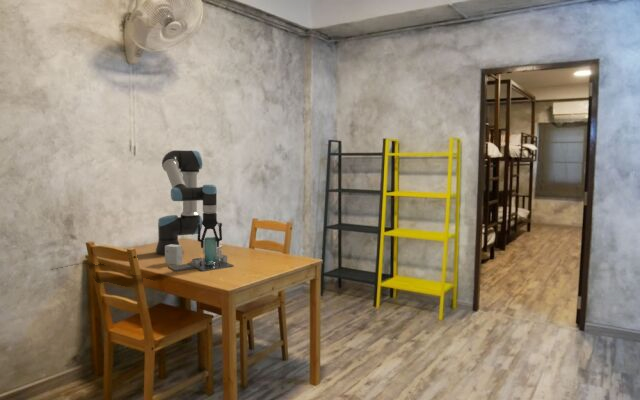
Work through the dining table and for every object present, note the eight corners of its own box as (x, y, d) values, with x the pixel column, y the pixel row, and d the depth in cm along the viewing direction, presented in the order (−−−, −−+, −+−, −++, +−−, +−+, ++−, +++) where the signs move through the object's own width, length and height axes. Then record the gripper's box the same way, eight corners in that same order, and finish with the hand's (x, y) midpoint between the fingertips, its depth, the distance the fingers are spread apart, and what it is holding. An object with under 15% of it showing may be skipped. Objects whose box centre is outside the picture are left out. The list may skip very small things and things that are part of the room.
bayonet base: (186, 264, 257) (186, 256, 257) (217, 260, 270) (217, 252, 270) (201, 271, 243) (201, 262, 243) (233, 266, 256) (233, 258, 255)
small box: (182, 263, 262) (182, 245, 261) (176, 265, 256) (176, 246, 255) (171, 261, 264) (170, 244, 263) (164, 263, 259) (164, 245, 258)
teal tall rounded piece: (205, 264, 250) (205, 240, 248) (203, 259, 261) (203, 236, 260) (216, 263, 251) (216, 239, 250) (214, 259, 263) (214, 235, 262)
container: (217, 260, 270) (216, 238, 269) (204, 259, 271) (204, 238, 270) (222, 257, 277) (222, 236, 276) (210, 256, 279) (210, 235, 278)
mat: (167, 267, 250) (167, 266, 250) (186, 264, 258) (186, 263, 258) (176, 271, 242) (176, 270, 242) (195, 268, 249) (195, 267, 249)
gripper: (192, 213, 247) (193, 255, 249) (227, 212, 253) (227, 253, 256) (191, 212, 254) (192, 252, 256) (225, 211, 260) (226, 251, 263)
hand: (210, 253), depth 256 cm, fingers closed on teal tall rounded piece, 6 cm apart
